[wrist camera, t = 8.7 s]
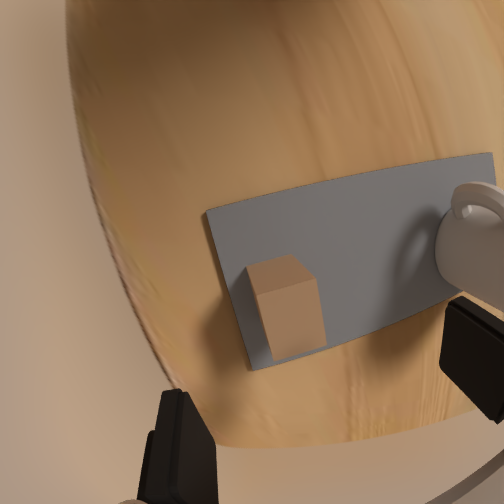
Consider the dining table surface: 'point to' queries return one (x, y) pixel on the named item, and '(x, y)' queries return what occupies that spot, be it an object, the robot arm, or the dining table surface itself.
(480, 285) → the cup
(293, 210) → the strip
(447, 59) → the dining table surface
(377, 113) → the dining table surface
